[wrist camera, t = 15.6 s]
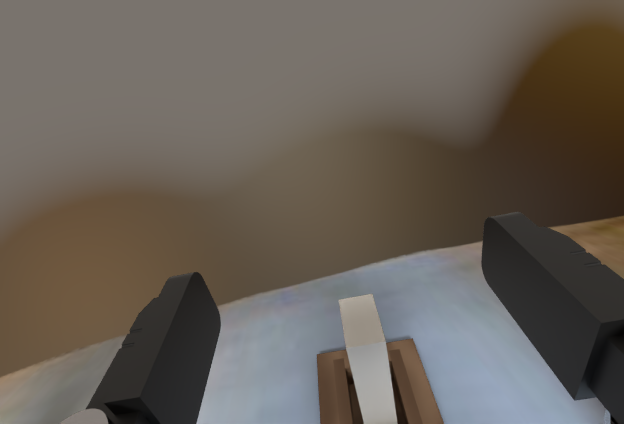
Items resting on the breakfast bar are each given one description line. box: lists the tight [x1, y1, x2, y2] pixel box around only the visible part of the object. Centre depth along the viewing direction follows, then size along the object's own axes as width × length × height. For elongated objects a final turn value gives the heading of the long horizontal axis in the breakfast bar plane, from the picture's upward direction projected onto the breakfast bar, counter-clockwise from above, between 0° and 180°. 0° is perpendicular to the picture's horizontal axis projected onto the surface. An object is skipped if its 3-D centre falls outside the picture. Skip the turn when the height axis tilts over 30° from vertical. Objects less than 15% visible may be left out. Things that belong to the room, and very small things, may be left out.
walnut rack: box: [317, 339, 444, 424], centre depth 33 cm, size 12×16×4 cm
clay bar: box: [339, 294, 397, 424], centre depth 30 cm, size 3×5×14 cm, turn 3°
